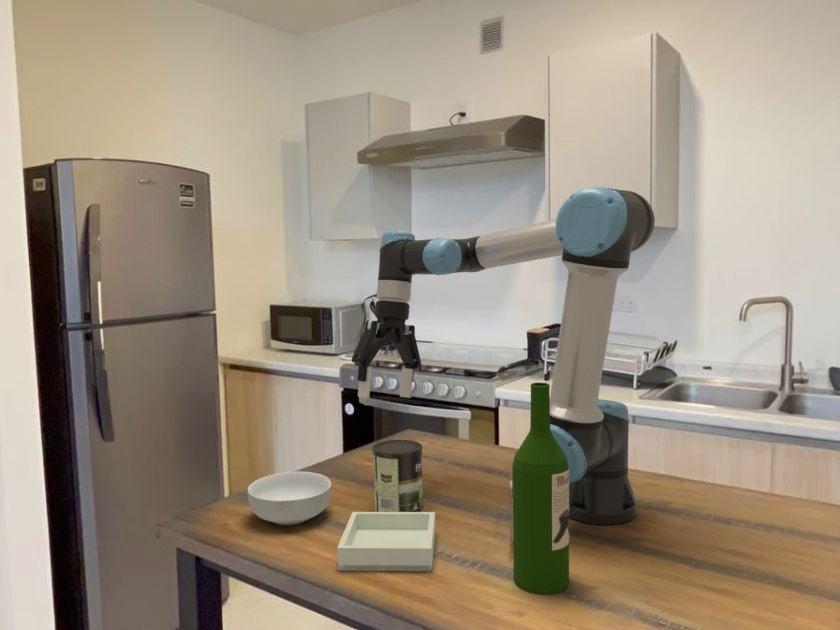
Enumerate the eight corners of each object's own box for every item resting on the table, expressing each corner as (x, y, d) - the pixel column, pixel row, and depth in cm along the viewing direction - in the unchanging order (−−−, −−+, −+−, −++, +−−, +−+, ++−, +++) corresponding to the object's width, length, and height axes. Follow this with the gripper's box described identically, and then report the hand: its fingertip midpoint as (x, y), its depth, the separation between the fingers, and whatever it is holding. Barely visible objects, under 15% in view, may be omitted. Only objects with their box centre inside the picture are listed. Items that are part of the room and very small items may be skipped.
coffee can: (424, 502, 146) (422, 438, 145) (423, 521, 136) (421, 453, 135) (376, 503, 146) (374, 439, 145) (372, 522, 136) (369, 453, 135)
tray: (435, 532, 131) (435, 512, 130) (431, 571, 115) (431, 548, 114) (353, 531, 132) (352, 511, 131) (338, 570, 116) (337, 547, 115)
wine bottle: (556, 600, 104) (556, 392, 101) (504, 585, 109) (502, 386, 106) (577, 576, 112) (577, 381, 109) (527, 563, 117) (525, 377, 114)
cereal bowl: (231, 528, 135) (230, 494, 134) (277, 499, 150) (275, 468, 150) (307, 539, 129) (305, 503, 128) (346, 507, 144) (345, 475, 144)
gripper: (416, 306, 163) (408, 395, 162) (340, 294, 144) (331, 395, 142) (440, 307, 158) (433, 398, 157) (365, 295, 139) (357, 399, 138)
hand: (385, 397), depth 150 cm, fingers open, 13 cm apart
